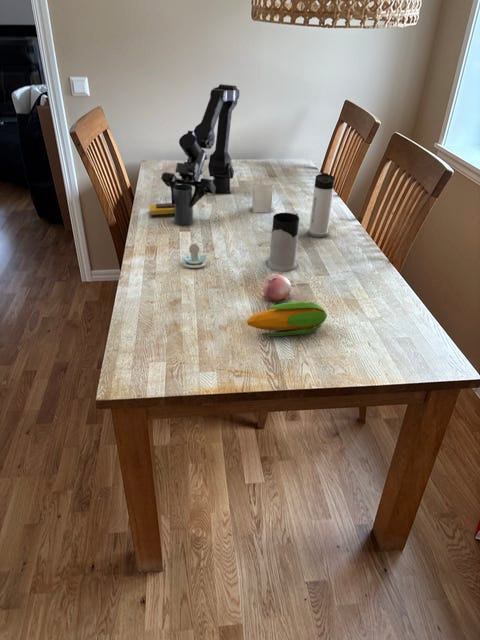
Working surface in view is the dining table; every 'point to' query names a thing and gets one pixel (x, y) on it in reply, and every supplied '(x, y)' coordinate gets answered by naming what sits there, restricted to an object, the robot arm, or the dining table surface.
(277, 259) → the glass holder
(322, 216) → the travel mug
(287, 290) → the onion
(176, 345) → the dining table surface
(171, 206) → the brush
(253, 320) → the corn
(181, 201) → the tumbler
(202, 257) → the pacifier
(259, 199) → the beige rectangular block
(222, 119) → the robot arm
